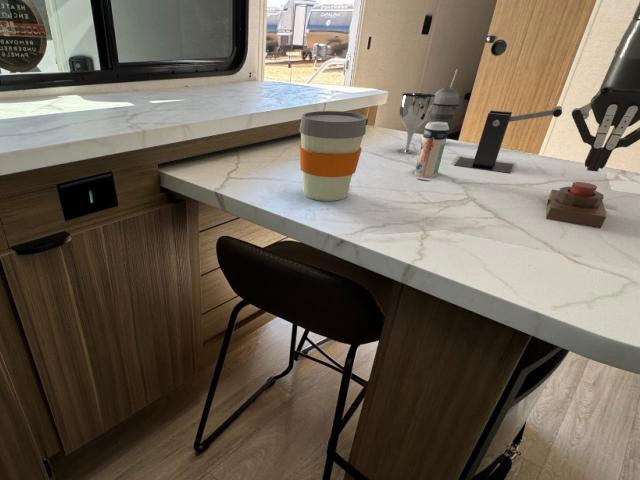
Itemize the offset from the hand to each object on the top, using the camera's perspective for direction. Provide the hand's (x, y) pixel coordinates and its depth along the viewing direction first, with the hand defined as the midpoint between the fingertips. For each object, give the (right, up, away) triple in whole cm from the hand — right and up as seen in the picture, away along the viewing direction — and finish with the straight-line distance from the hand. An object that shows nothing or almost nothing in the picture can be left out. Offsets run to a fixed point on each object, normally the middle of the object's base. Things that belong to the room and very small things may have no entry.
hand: (592, 170), depth 73 cm
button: (0, -4, +3) cm, 4 cm away
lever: (+2, +17, +20) cm, 27 cm away
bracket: (-2, +9, +29) cm, 30 cm away
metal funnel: (-17, +16, +39) cm, 45 cm away
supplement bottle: (-19, +5, +22) cm, 30 cm away
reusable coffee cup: (-44, -1, +14) cm, 46 cm away
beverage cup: (-5, +21, +48) cm, 53 cm away
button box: (0, -7, +5) cm, 8 cm away
